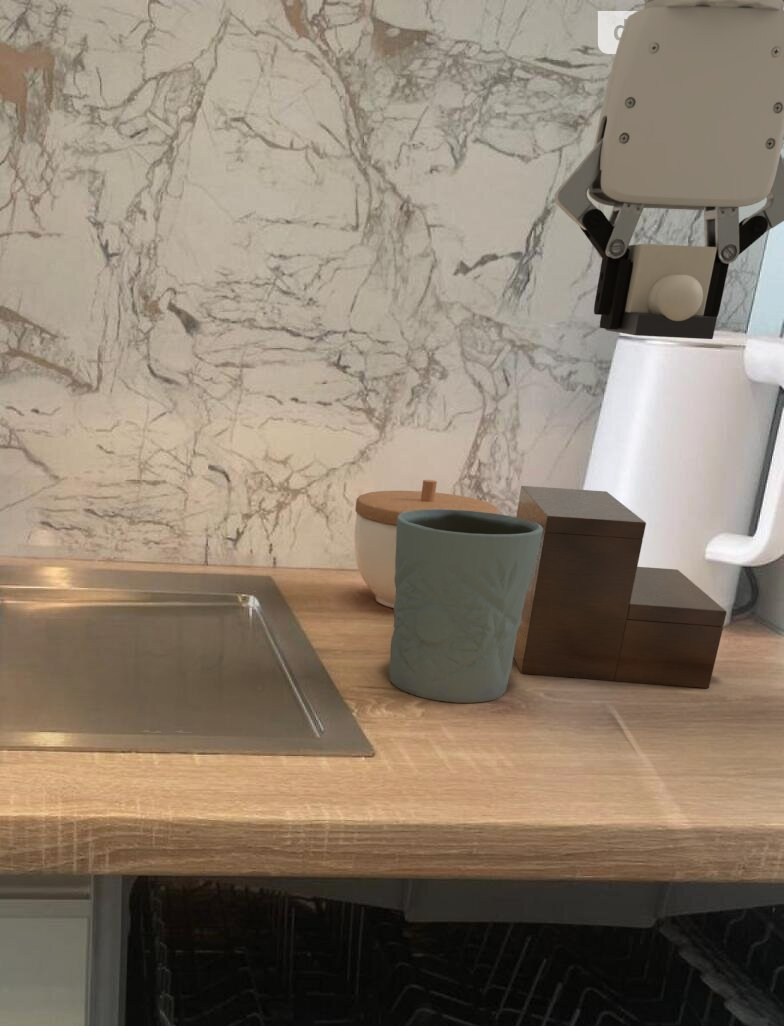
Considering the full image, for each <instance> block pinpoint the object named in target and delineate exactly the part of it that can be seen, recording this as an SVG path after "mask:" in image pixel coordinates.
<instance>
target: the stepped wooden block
mask: <svg viewBox="0 0 784 1026" xmlns="http://www.w3.org/2000/svg"><path fill="white" fill-rule="evenodd" d="M515 517H516V518H521V519H525V520H529V521H532V522H535V523H537V524H539V525H540V526H542V528H543V533H542V537H541V541H540V545H539V550H538V554H537V558H536V562H535V566H534V570H533V574H532V577H531V580H530V583H529V587H528V590H527V593H526V597H525V602H524V607H523V610H522V614H521V624H520V627H519V629H518V631H517V636H516V642H515V649H514V656H513V660H514V661H515V663H516V665H517V668H518V669H519V672H520V674H523V675H525V674H526V675H536V676H549V677H562V678H572V679H573V678H574V679H587V680H599V681H610V682H611V681H613V682H614V681H615V682H624V683H636V684H637V683H638V684H648V685H663V686H671V687H672V686H674V687H687V688H697V689H709V688H710V685H711V680H712V677H713V673H714V667H715V663H716V660H717V655H718V651H719V647H720V643H721V638H722V635H723V634H722V633H723V630H724V625H725V620H726V617H727V613H728V612H727V610H726V609H724V608H723V607H722V606H721V605H720V604H719V603H718V602H717V601H715V600H714V599H713V598H712V597H710V596H709V595H708V594H707V593H706V592H704V590H703V589H702V588H700V587H699V586H697V585H696V583H694V582H693V581H692V580H691V579H689V578H688V577H687V576H686V575H685V574H684V573H682V572H681V570H679V569H676V568H675V569H674V568H663V567H649V566H646V567H645V566H639V561H640V555H641V550H642V546H643V539H644V536H645V531H646V526H647V522H646V521H644V520H643V519H642V518H641V517H640V516H638V515H637V514H636V513H635V512H633V510H631V509H629V507H627V506H626V505H624V503H622V502H621V501H619V500H618V499H617V498H615V496H613V495H612V494H611V493H609V492H608V491H605V490H590V489H577V488H576V489H574V488H559V487H545V486H531V485H530V486H529V485H521V486H520V491H519V497H518V503H517V510H516V516H515Z"/></svg>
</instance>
